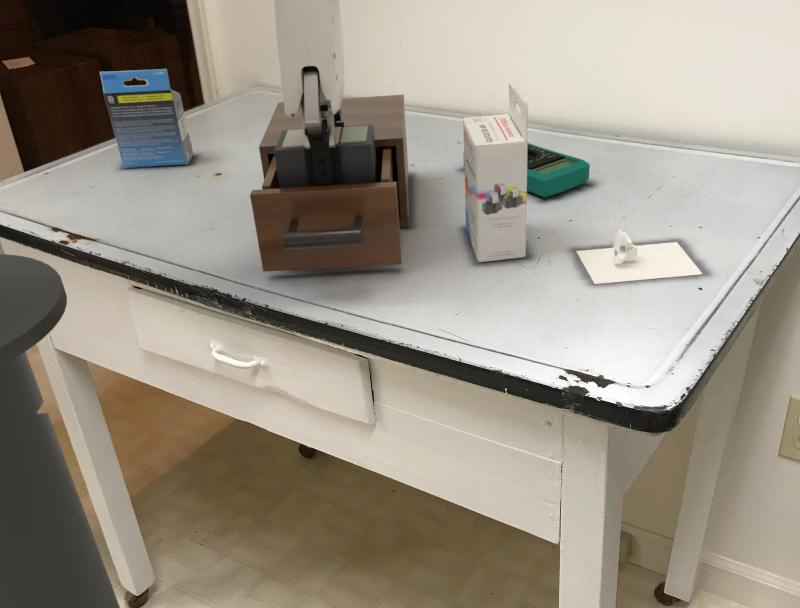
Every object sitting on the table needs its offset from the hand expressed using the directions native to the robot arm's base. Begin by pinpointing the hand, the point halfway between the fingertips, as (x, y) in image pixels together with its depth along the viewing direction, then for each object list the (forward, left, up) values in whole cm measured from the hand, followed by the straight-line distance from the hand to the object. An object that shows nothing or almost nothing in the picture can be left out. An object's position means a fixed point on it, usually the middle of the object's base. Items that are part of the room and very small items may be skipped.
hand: (329, 174), depth 83 cm
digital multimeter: (+21, +18, -8) cm, 29 cm away
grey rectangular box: (0, 0, -1) cm, 1 cm away
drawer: (0, -1, -7) cm, 7 cm away
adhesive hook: (+29, -6, -8) cm, 31 cm away
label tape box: (-26, +31, -8) cm, 41 cm away
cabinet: (0, +13, -8) cm, 15 cm away
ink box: (+16, 0, -8) cm, 18 cm away
